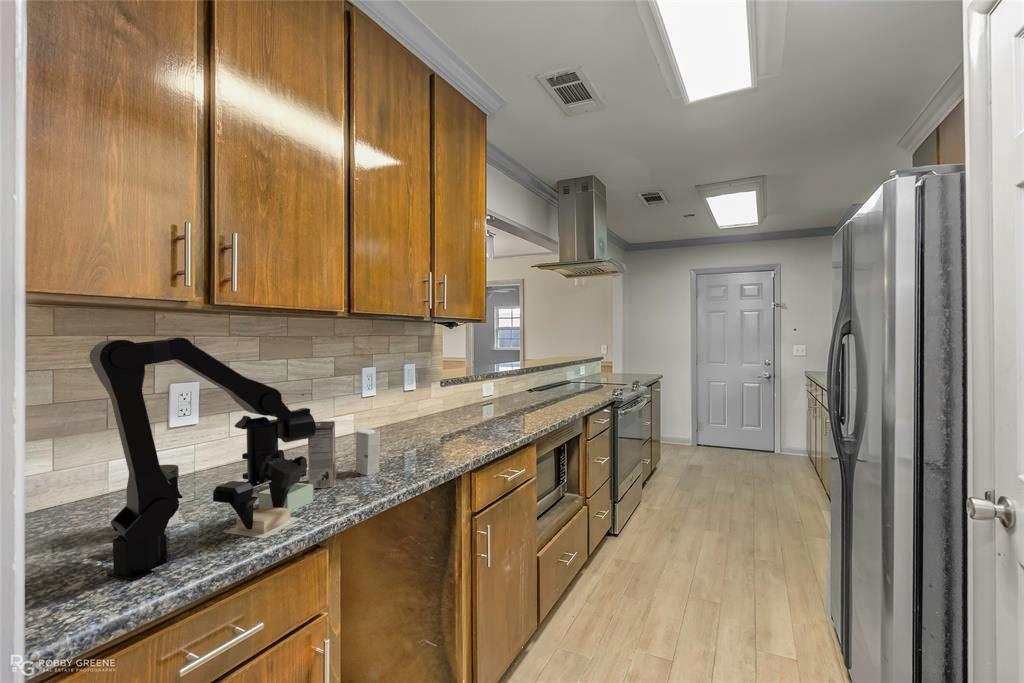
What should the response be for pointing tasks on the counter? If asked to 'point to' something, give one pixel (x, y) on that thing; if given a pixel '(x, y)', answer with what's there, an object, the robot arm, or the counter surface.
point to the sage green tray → (290, 497)
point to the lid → (266, 519)
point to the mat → (245, 533)
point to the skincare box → (367, 451)
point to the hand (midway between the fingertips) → (264, 522)
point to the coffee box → (322, 455)
